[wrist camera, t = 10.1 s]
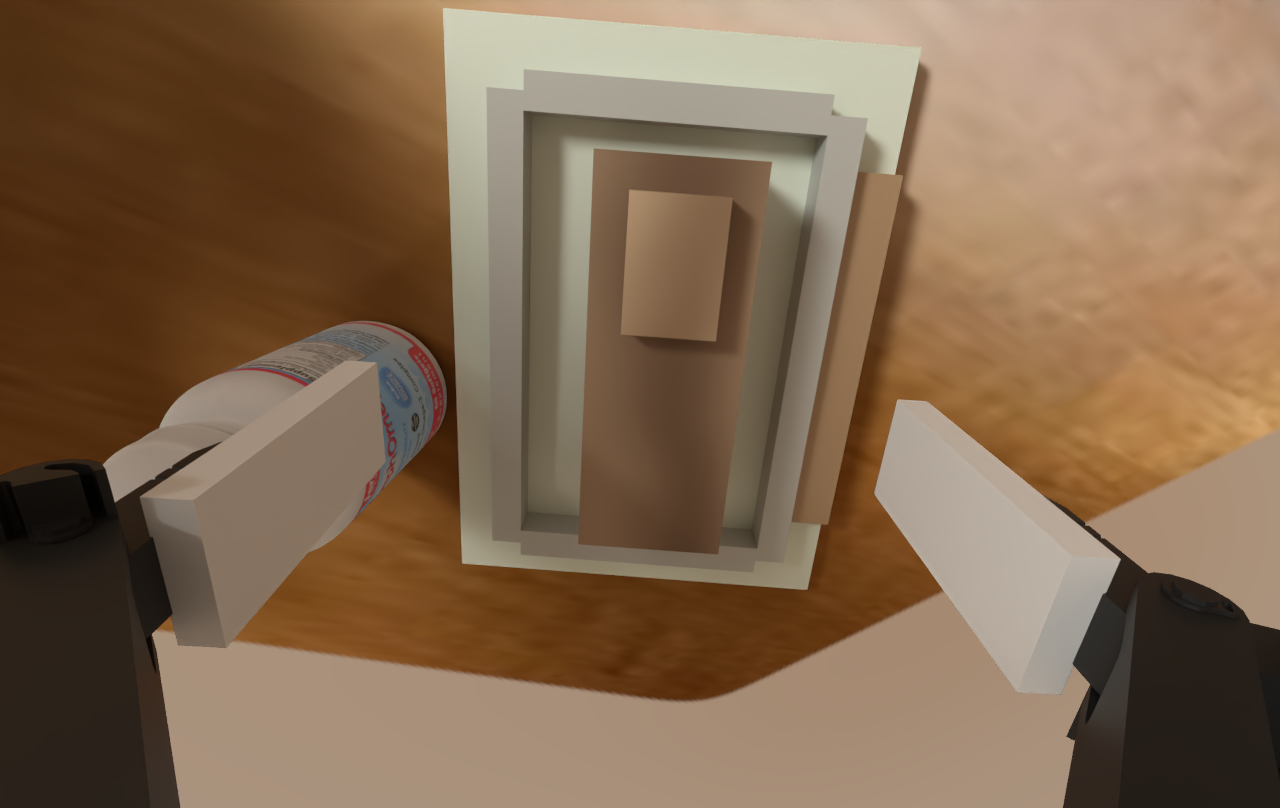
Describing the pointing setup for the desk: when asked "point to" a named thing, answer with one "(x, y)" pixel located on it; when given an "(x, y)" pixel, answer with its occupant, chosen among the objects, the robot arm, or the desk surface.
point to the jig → (559, 266)
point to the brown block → (666, 344)
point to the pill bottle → (267, 381)
